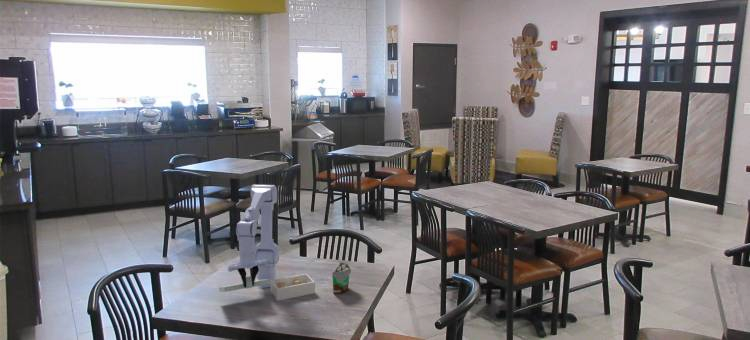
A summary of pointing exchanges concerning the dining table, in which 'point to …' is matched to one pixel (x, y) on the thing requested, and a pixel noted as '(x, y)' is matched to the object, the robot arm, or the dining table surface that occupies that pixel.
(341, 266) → the food container
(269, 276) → the robot arm
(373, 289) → the dining table surface
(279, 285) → the tub
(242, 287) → the lid
